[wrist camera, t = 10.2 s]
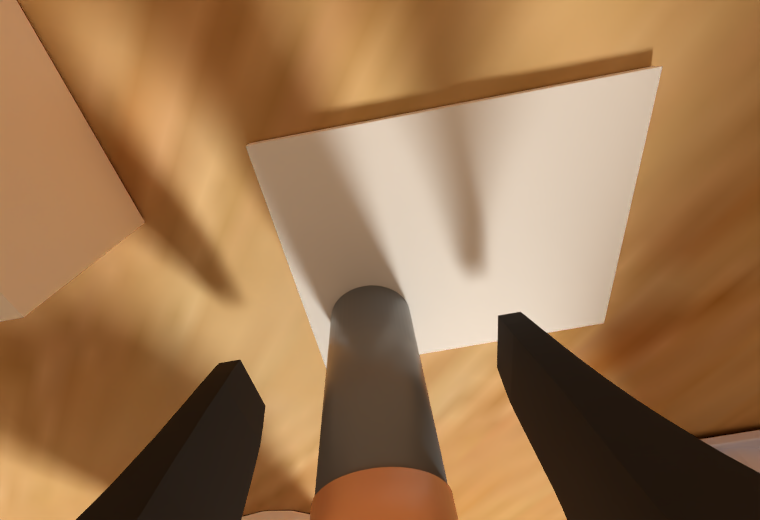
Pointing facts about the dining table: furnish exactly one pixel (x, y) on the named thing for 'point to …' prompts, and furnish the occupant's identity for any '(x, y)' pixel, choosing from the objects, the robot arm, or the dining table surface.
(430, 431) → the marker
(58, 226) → the rectangular block
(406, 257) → the paper
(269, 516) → the foam cup
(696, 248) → the dining table surface
